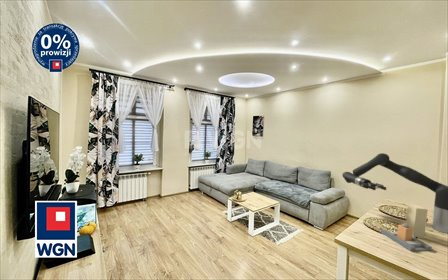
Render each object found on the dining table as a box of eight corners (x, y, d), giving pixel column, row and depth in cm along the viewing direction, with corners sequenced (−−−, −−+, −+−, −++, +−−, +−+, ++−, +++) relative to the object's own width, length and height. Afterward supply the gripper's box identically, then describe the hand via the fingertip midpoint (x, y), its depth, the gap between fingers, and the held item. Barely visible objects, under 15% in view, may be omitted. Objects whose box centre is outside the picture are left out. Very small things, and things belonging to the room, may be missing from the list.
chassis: (380, 232, 132) (380, 229, 132) (398, 232, 133) (398, 228, 133) (410, 251, 112) (410, 247, 112) (431, 250, 113) (431, 246, 113)
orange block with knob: (396, 238, 125) (398, 223, 124) (403, 238, 125) (404, 222, 125) (404, 243, 120) (405, 227, 119) (411, 243, 121) (412, 226, 120)
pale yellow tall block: (426, 238, 126) (429, 209, 124) (413, 237, 127) (416, 208, 126) (416, 232, 133) (419, 204, 132) (404, 231, 135) (407, 203, 134)
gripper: (355, 178, 153) (372, 184, 137) (371, 178, 154) (389, 184, 138) (354, 186, 154) (371, 193, 137) (370, 186, 155) (389, 193, 138)
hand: (380, 188), depth 138 cm, fingers open, 8 cm apart
